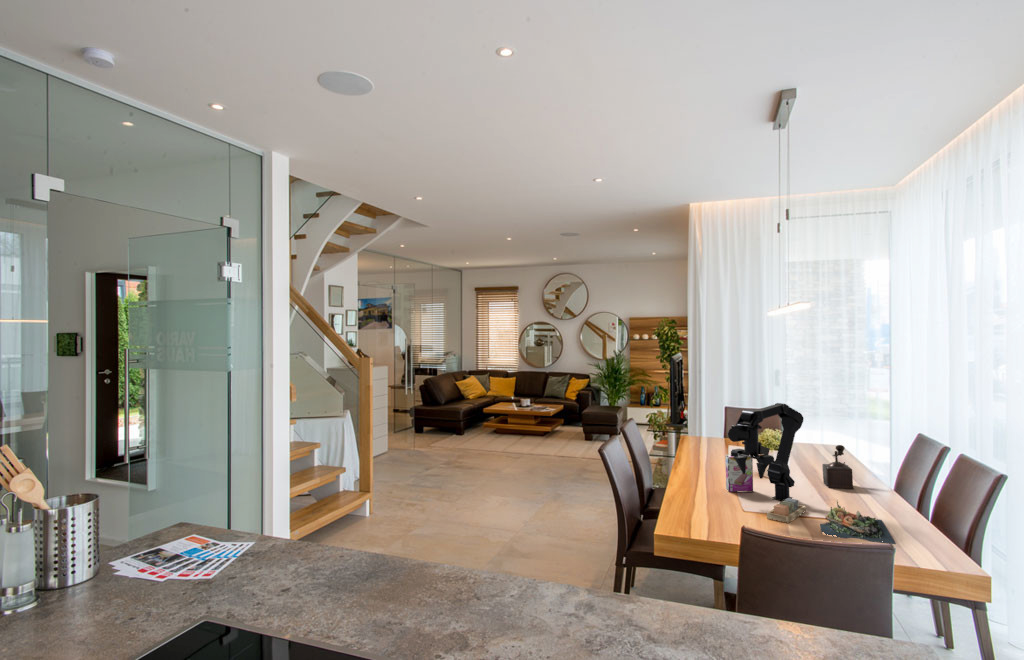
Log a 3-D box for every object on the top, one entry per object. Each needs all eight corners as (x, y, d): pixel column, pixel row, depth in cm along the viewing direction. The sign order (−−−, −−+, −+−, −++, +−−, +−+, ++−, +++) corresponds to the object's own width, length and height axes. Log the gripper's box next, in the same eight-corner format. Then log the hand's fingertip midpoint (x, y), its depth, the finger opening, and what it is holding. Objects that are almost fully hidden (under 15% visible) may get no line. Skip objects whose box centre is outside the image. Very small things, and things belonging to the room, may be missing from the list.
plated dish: (805, 510, 223) (805, 493, 223) (887, 519, 212) (886, 500, 212) (814, 540, 192) (813, 520, 192) (910, 553, 180) (909, 530, 180)
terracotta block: (774, 516, 213) (773, 506, 213) (778, 513, 216) (777, 503, 216) (784, 518, 210) (784, 508, 210) (788, 516, 213) (788, 505, 213)
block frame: (785, 507, 226) (784, 495, 226) (806, 511, 220) (805, 499, 221) (766, 518, 213) (766, 506, 213) (788, 523, 207) (787, 510, 207)
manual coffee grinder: (855, 489, 250) (853, 450, 251) (828, 488, 253) (827, 449, 254) (845, 481, 265) (843, 444, 266) (819, 480, 268) (818, 443, 269)
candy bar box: (729, 492, 250) (727, 457, 251) (725, 489, 255) (724, 454, 256) (754, 492, 249) (752, 456, 250) (750, 489, 254) (749, 454, 255)
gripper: (783, 441, 227) (784, 478, 227) (748, 434, 244) (749, 469, 244) (763, 443, 223) (764, 481, 222) (729, 437, 240) (730, 472, 239)
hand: (752, 476), depth 232 cm, fingers open, 9 cm apart
